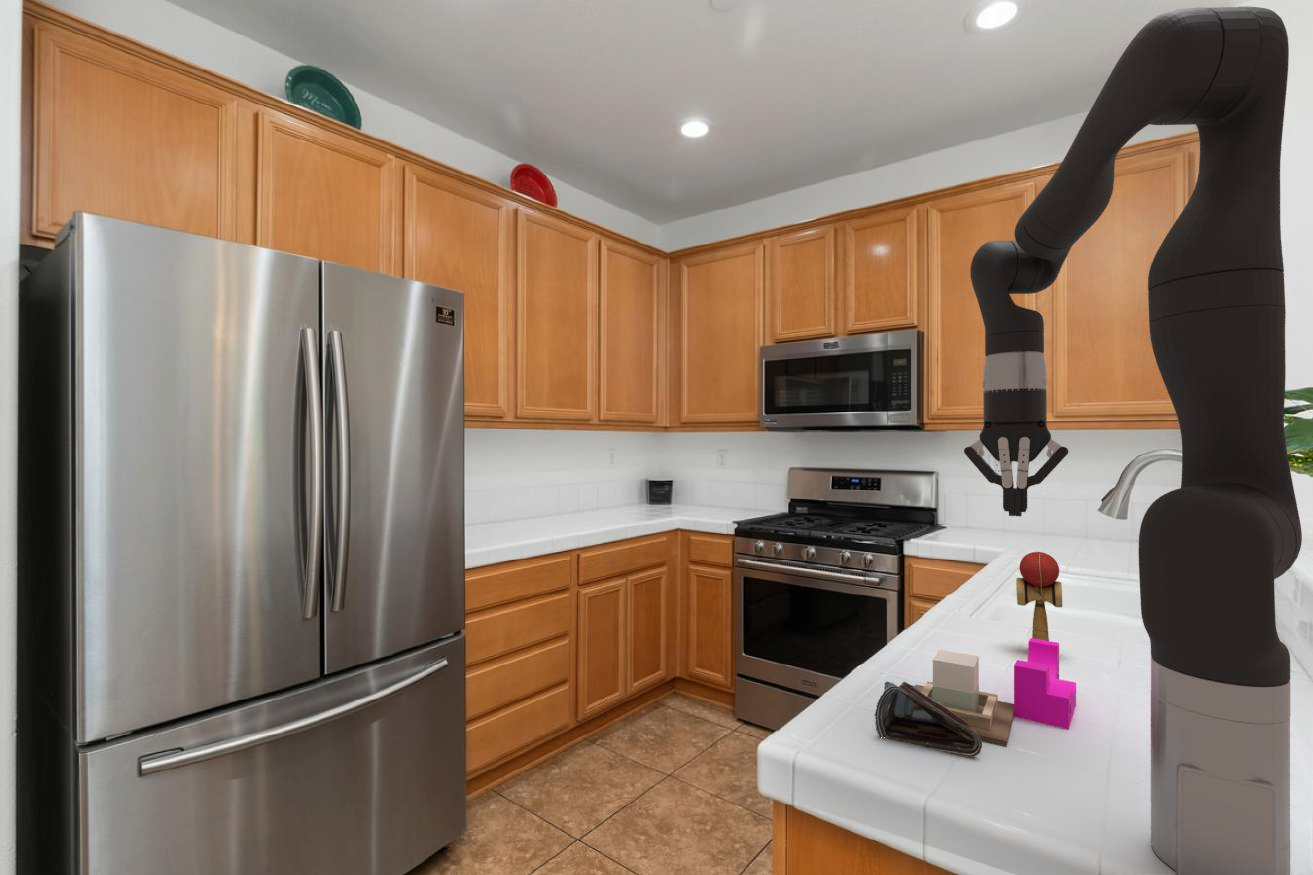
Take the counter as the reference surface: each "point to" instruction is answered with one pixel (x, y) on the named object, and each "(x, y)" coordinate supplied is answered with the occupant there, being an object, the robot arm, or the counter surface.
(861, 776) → the counter surface
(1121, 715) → the counter surface
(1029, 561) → the kendama
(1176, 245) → the robot arm
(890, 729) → the chocolate cake
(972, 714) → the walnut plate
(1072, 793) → the counter surface
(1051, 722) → the toy block
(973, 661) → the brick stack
